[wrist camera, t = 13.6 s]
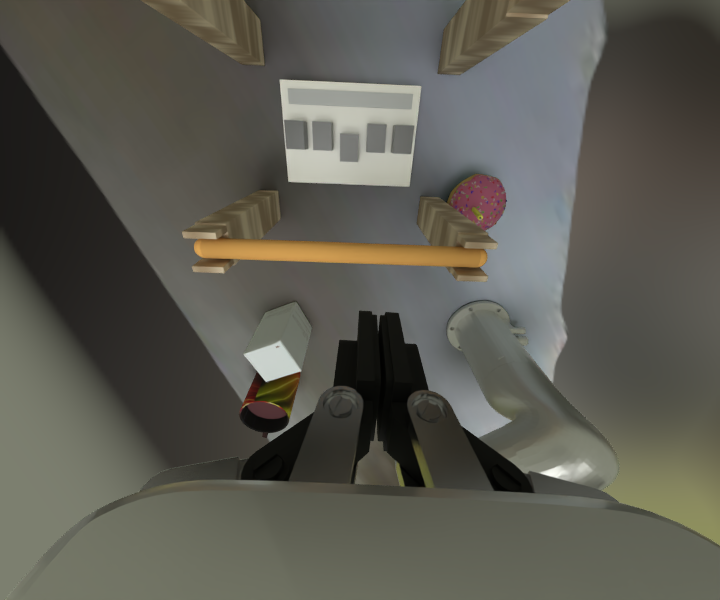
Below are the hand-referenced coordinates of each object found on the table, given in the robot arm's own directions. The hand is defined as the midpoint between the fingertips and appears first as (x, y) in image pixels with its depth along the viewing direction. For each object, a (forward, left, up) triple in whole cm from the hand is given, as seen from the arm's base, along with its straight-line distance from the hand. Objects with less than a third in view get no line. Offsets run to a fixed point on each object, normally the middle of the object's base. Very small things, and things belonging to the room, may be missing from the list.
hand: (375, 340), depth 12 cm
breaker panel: (+2, -8, -38) cm, 39 cm away
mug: (+17, +42, -38) cm, 60 cm away
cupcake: (-17, 0, -38) cm, 41 cm away
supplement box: (+14, +25, -38) cm, 48 cm away
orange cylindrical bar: (+2, +2, -17) cm, 17 cm away
